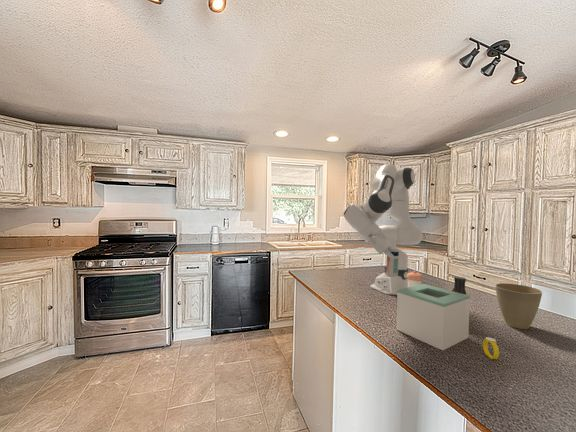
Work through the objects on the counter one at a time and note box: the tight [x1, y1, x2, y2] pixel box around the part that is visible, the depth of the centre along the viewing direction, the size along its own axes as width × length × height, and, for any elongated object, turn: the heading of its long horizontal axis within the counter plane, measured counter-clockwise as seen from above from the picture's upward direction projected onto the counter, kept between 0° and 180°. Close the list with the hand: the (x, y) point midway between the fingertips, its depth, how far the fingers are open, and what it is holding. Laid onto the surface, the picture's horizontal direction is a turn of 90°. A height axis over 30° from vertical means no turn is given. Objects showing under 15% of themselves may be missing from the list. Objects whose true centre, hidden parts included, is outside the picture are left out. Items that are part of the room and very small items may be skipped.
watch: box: [482, 336, 500, 360], centre depth 86 cm, size 6×3×6 cm, turn 173°
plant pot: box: [494, 282, 543, 330], centre depth 110 cm, size 15×15×16 cm
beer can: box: [385, 247, 399, 277], centre depth 114 cm, size 5×5×12 cm
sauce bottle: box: [451, 276, 468, 295], centre depth 110 cm, size 7×6×20 cm
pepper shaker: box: [407, 270, 424, 287], centre depth 124 cm, size 7×7×19 cm
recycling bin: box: [396, 283, 471, 351], centre depth 101 cm, size 18×18×16 cm
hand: (394, 257), depth 114 cm, fingers closed on beer can, 5 cm apart
